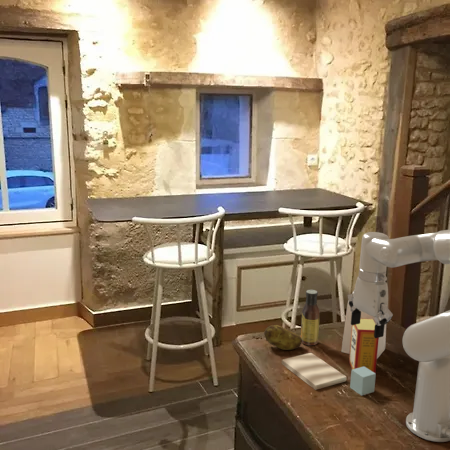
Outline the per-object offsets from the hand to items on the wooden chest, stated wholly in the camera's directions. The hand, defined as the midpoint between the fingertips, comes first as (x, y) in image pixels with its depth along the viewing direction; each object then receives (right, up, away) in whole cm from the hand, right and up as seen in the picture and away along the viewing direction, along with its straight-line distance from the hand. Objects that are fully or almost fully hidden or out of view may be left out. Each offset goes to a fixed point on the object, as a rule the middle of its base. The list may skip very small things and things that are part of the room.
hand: (366, 330), depth 152 cm
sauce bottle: (-11, -12, +35) cm, 38 cm away
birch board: (-14, -16, +14) cm, 25 cm away
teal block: (0, -19, +4) cm, 19 cm away
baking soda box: (+3, -16, +17) cm, 24 cm away
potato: (-22, -13, +31) cm, 39 cm away
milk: (+7, -13, +30) cm, 34 cm away
